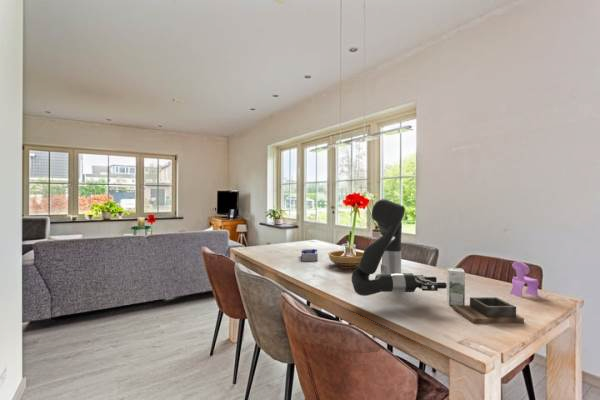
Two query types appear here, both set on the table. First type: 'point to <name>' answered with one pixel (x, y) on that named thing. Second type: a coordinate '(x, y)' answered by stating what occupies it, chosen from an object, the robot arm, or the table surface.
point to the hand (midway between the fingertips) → (440, 282)
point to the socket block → (489, 311)
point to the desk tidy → (309, 255)
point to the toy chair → (523, 280)
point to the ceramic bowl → (345, 259)
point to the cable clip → (310, 253)
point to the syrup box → (455, 286)
